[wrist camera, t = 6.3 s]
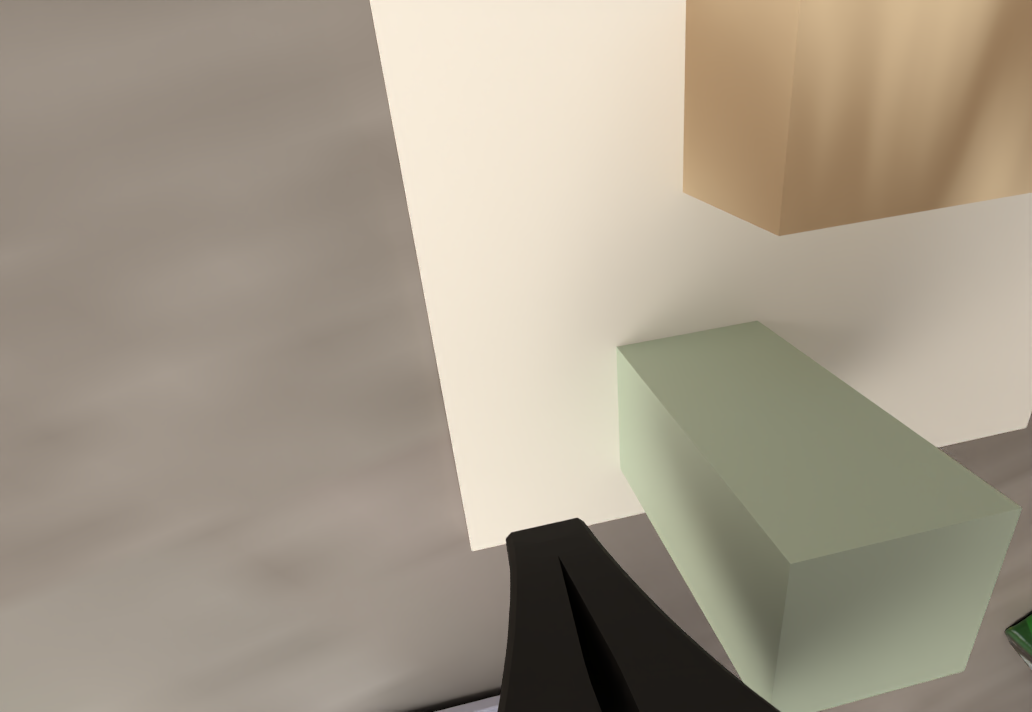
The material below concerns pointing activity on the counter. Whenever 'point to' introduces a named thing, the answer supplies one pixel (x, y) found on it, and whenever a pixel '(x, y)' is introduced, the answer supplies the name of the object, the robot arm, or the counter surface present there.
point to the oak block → (855, 107)
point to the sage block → (806, 517)
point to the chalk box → (1022, 639)
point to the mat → (650, 255)
